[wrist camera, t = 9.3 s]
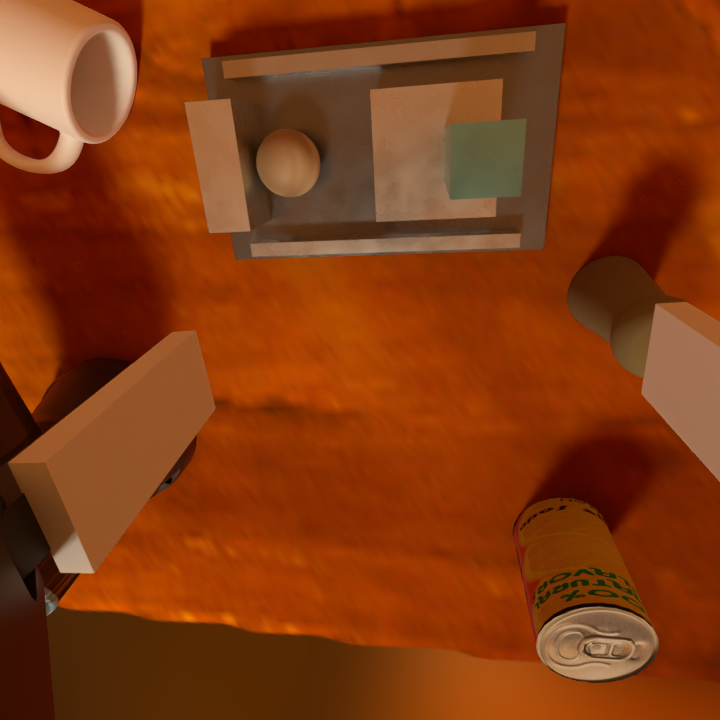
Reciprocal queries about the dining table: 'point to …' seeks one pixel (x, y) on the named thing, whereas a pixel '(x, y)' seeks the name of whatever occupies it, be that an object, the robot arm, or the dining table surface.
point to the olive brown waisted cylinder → (618, 306)
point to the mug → (64, 76)
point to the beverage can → (581, 594)
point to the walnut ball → (288, 163)
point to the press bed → (365, 141)
